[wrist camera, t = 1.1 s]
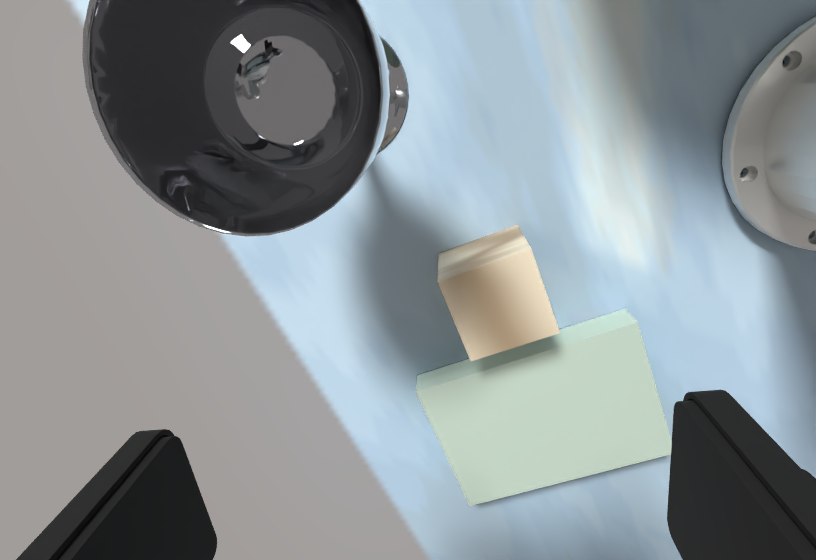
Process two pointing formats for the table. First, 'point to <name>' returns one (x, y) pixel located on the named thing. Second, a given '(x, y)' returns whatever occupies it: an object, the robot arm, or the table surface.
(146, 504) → the robot arm
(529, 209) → the table surface
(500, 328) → the birch cube
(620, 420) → the sage board
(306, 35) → the wine glass
